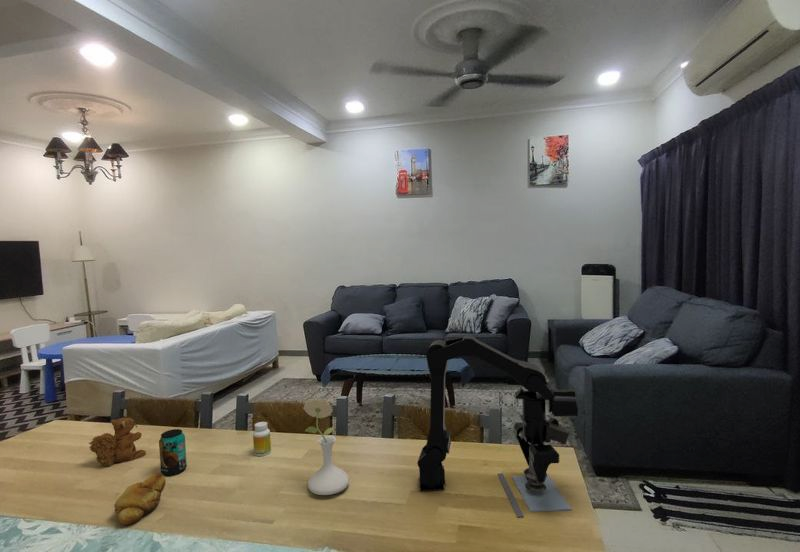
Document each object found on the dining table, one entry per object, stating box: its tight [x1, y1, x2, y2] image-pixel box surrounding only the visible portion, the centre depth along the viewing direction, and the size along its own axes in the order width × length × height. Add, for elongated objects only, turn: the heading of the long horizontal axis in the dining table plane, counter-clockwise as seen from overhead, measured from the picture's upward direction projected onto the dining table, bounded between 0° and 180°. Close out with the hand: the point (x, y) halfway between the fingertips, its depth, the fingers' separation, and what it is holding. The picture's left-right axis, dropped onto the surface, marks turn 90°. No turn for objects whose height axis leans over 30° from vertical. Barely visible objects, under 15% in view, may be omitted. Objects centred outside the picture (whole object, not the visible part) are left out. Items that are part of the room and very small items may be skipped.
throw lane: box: [497, 472, 572, 519], centre depth 111 cm, size 14×20×1 cm
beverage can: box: [158, 428, 188, 477], centre depth 130 cm, size 7×7×12 cm
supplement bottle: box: [252, 421, 272, 457], centre depth 140 cm, size 5×5×10 cm
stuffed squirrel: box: [88, 416, 147, 467], centre depth 139 cm, size 10×14×13 cm
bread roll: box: [113, 472, 166, 525], centre depth 109 cm, size 13×10×8 cm
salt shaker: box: [523, 445, 548, 492], centre depth 111 cm, size 6×6×12 cm
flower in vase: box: [303, 397, 350, 496], centre depth 117 cm, size 13×11×25 cm
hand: (535, 473), depth 111 cm, fingers closed on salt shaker, 8 cm apart
